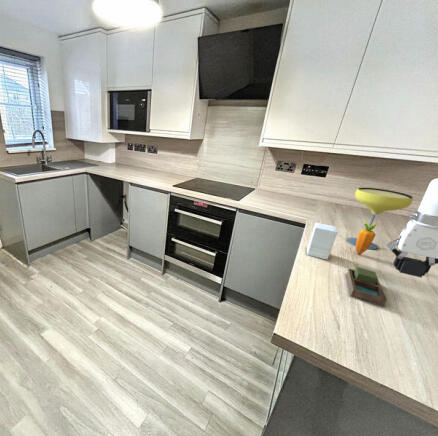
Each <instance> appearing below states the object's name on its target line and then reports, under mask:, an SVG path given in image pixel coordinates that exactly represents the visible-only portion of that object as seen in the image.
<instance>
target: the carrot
mask: <svg viewBox="0 0 438 436" xmlns="http://www.w3.org/2000/svg"><path fill="white" fill-rule="evenodd" d="M363 225H364V229H361V230H359V232H358V235H357V241H356V245H355V251H356V254H357V255H362V254H363V253H365V252H366V251H367V250H369V249H368V247H369V246H370V245H371V243H373V241H374V239H375V237H376V232H375V231H373V230H375V228H376V227H377V225H378V223H376V222H374V223H373V224H371V226H369V223H368V222H363Z"/></svg>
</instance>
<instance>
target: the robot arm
mask: <svg viewBox="0 0 438 436" xmlns="http://www.w3.org/2000/svg"><path fill="white" fill-rule="evenodd" d="M408 217H409V218H412V219H410V220H409V221H408V222H407V224H406V225H405V226H404V228H403V229H402V231H401V232H400V234H399V236H398V238H396V239H393V240H392V241H389V242H387V243H386V247H387V248H388V249H389V250H390V251H391V252H392V253H393V254H394V255H395V257H394V258H395V259H394V261H393V263H392V265H393V266H394V268H395V270H396V271H399V270H400V268H401V266H402V263H403V261H404V259H403V258H404V257H406V256H407V254H411V255H415V256H420V257H421V256H422V257H425V260H422V261H423V263H424V264H425V265H426V266H427V268H426V270H425V272H424V274H423V276H422V277H424V276H425V275H426V274H428V273H429V272H430V269H431V268H432V267H433V266H434V267H435V265H438V178H434V179H432V180H431V181H430V183H429V184H428V187H427V189H426V191H425V193H424V195H423V197H422V200H421V202H420V204H419V207H418V209H417V210H416V211H415V212H409V214H408ZM396 246H397V248H396Z"/></svg>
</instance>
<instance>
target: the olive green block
mask: <svg viewBox="0 0 438 436" xmlns="http://www.w3.org/2000/svg"><path fill="white" fill-rule="evenodd" d="M354 270H355V272H354V274H353V278H354V279H357V280H360V281H364V282H367V283H371V284H374V285H375V284H376V282H377V280H379V278H378V275H377V273H376V271H374V270H369V269H366V268H363V267H358V266H356V267H355V269H354Z"/></svg>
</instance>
